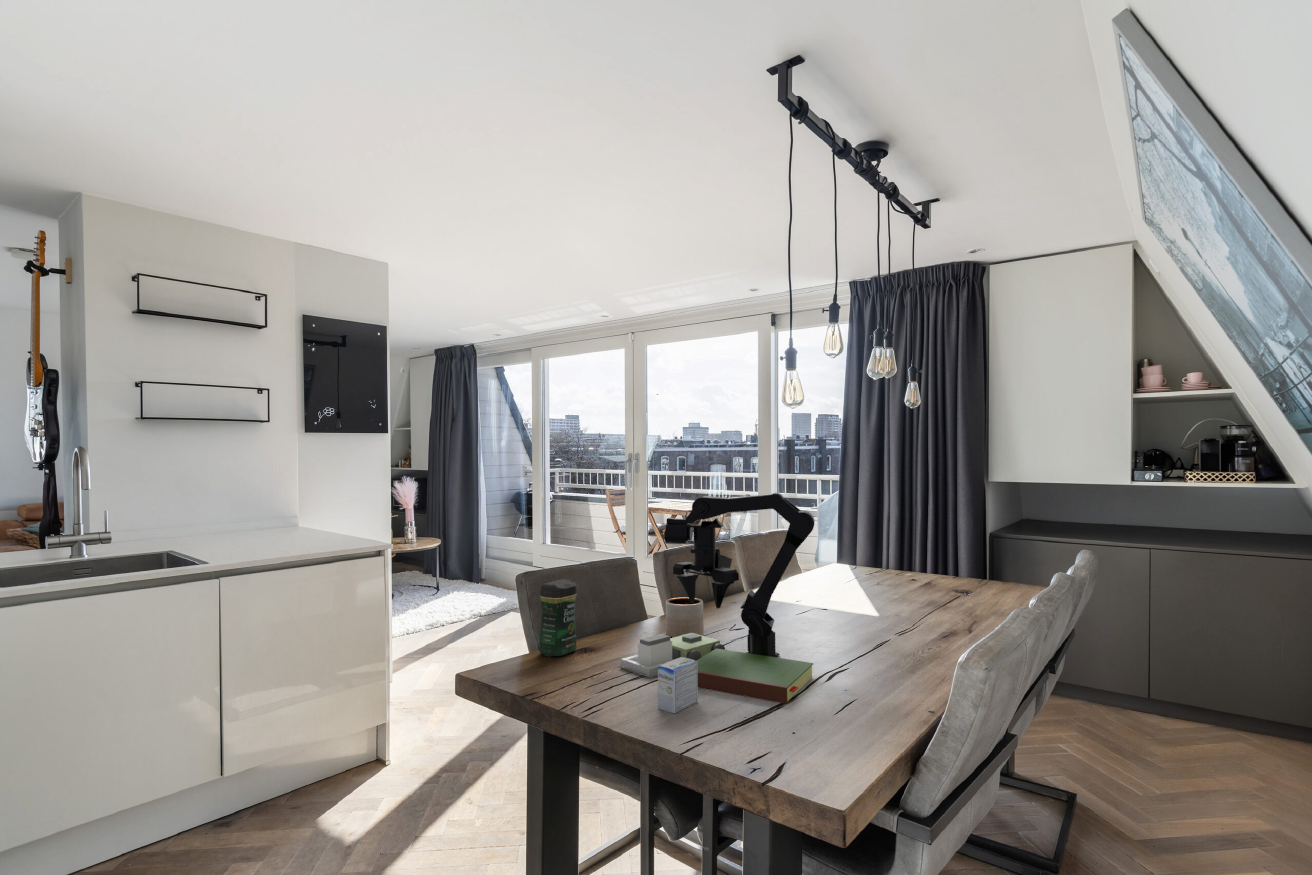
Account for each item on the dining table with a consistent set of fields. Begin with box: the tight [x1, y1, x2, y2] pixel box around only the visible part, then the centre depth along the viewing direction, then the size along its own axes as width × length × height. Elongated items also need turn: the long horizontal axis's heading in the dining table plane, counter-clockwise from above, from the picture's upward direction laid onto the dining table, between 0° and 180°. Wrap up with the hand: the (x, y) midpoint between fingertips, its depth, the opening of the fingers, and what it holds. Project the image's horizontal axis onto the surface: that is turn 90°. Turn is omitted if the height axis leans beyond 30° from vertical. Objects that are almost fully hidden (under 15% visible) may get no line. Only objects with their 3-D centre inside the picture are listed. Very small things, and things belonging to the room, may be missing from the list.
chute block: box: [637, 633, 672, 667], centre depth 159 cm, size 4×7×7 cm, turn 132°
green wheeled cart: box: [670, 633, 726, 661], centre depth 167 cm, size 13×12×5 cm
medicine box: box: [657, 657, 699, 714], centre depth 134 cm, size 8×4×9 cm, turn 141°
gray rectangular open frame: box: [620, 654, 669, 679], centre depth 159 cm, size 10×12×2 cm
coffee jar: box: [538, 578, 577, 658], centre depth 172 cm, size 10×8×19 cm
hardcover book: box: [696, 649, 814, 705], centre depth 148 cm, size 25×19×4 cm
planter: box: [665, 596, 705, 638], centre depth 188 cm, size 11×11×10 cm
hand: (705, 605), depth 171 cm, fingers open, 9 cm apart
